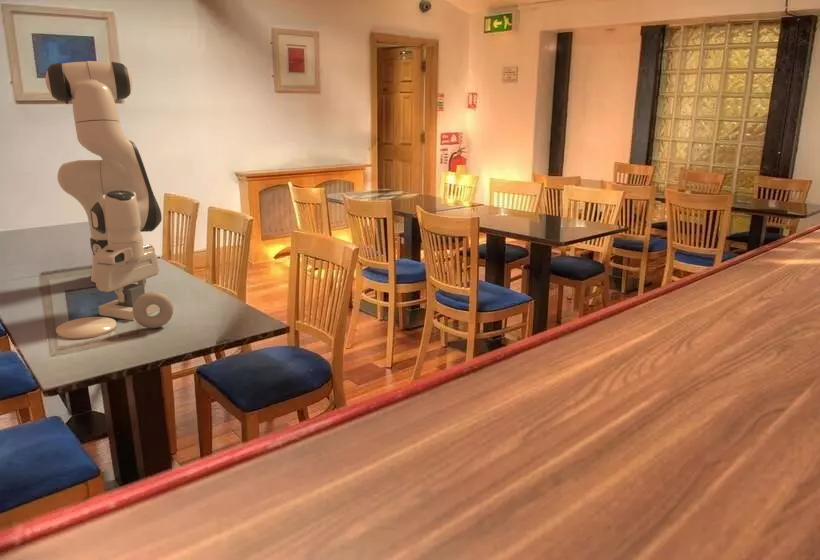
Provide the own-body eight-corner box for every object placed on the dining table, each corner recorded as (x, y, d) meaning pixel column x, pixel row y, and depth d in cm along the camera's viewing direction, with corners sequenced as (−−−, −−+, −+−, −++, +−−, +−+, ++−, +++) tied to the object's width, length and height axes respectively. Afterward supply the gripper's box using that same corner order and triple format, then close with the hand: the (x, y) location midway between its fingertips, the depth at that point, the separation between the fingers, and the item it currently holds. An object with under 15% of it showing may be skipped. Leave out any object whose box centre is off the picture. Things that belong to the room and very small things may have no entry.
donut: (134, 332, 164) (130, 295, 161) (134, 328, 167) (130, 291, 164) (175, 327, 168) (172, 291, 165) (174, 323, 171) (171, 288, 168)
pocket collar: (131, 302, 187) (130, 294, 187) (164, 307, 183) (163, 299, 183) (99, 314, 176) (98, 306, 176) (133, 320, 172) (132, 311, 172)
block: (132, 306, 183) (130, 283, 181) (146, 309, 181) (144, 285, 180) (119, 311, 179) (116, 288, 177) (133, 314, 177) (130, 290, 175)
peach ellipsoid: (88, 317, 174) (87, 314, 174) (128, 324, 169) (128, 320, 169) (43, 334, 161) (43, 330, 161) (85, 342, 157) (85, 338, 157)
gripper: (144, 241, 186) (149, 287, 189) (88, 257, 167) (94, 307, 171) (162, 244, 184) (166, 289, 187) (107, 259, 165) (112, 310, 169)
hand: (131, 298), depth 179 cm, fingers closed on block, 5 cm apart
